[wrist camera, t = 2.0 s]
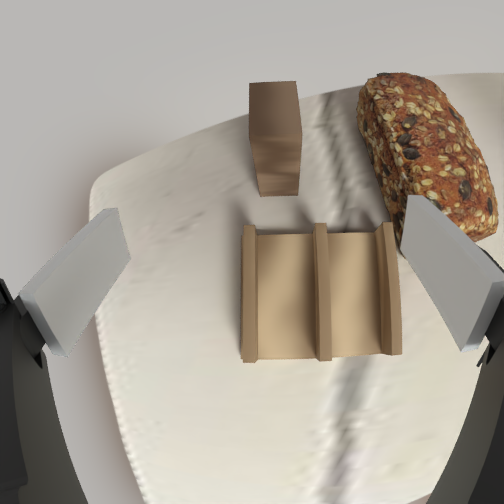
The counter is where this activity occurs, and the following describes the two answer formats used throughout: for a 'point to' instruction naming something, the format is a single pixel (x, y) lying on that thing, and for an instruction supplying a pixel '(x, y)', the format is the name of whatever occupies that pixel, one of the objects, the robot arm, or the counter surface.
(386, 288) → the divided tray
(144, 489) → the counter surface
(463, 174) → the bread
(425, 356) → the counter surface
